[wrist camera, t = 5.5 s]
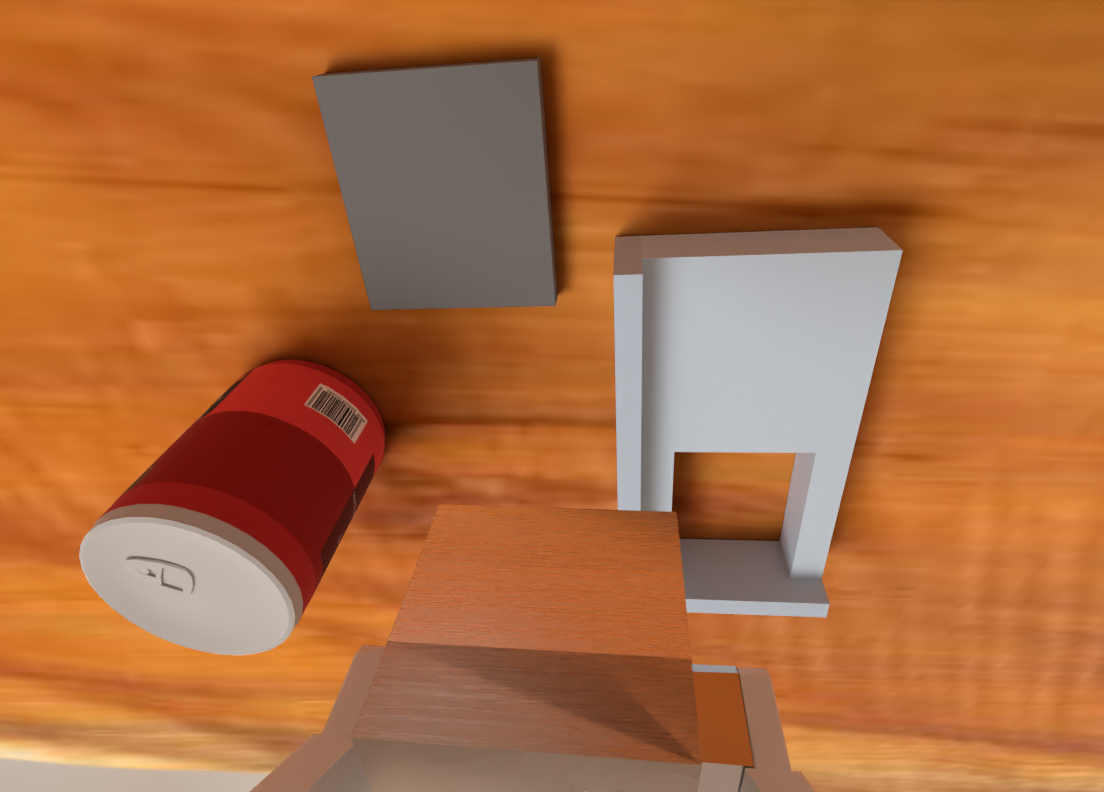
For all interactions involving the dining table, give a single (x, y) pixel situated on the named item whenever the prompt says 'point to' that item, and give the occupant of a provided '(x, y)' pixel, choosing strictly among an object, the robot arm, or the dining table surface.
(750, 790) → the robot arm
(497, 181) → the pad
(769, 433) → the grey slotted tray
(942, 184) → the dining table surface
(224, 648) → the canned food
